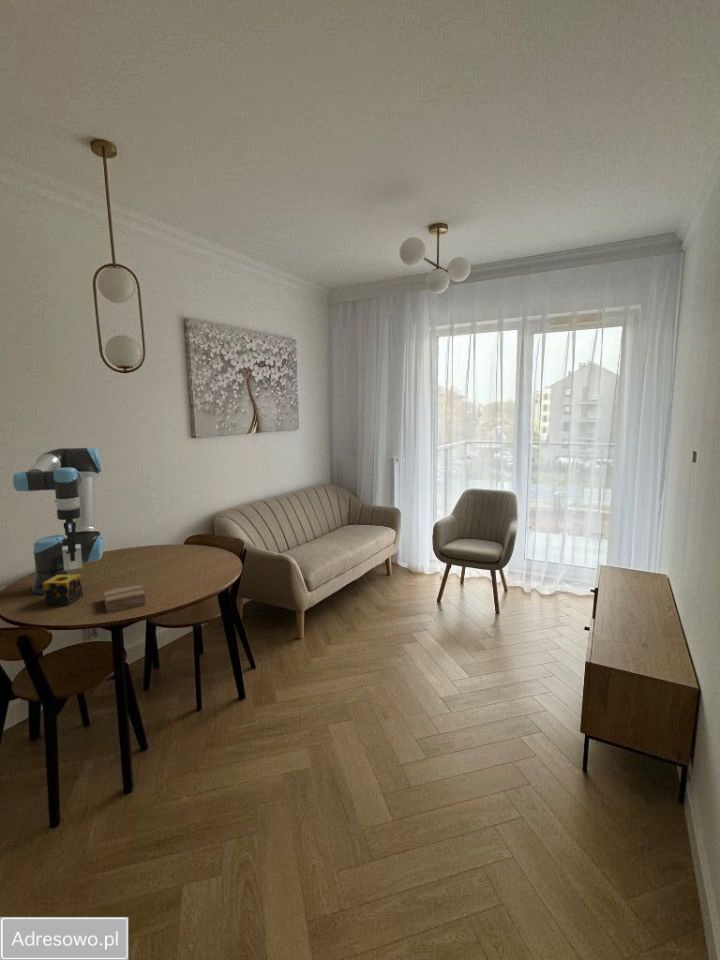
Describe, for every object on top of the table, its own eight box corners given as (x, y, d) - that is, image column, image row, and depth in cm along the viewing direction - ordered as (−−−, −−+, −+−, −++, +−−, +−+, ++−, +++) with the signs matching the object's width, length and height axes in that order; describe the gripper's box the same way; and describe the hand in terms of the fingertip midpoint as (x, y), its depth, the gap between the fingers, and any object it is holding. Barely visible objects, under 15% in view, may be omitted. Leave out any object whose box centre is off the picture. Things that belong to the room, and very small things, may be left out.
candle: (83, 596, 198) (81, 573, 197) (69, 606, 188) (67, 582, 187) (59, 596, 198) (57, 574, 196) (44, 606, 188) (42, 582, 186)
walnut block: (104, 601, 194) (103, 589, 193) (140, 594, 202) (139, 583, 201) (107, 613, 182) (106, 601, 182) (145, 605, 190) (144, 594, 189)
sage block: (64, 565, 181) (62, 546, 180) (81, 563, 184) (80, 544, 183) (64, 570, 176) (62, 550, 175) (82, 567, 179) (80, 547, 178)
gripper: (56, 504, 182) (61, 561, 186) (56, 514, 167) (61, 575, 170) (78, 502, 187) (83, 558, 190) (80, 511, 171) (85, 571, 174)
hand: (73, 566), depth 180 cm, fingers closed on sage block, 6 cm apart
